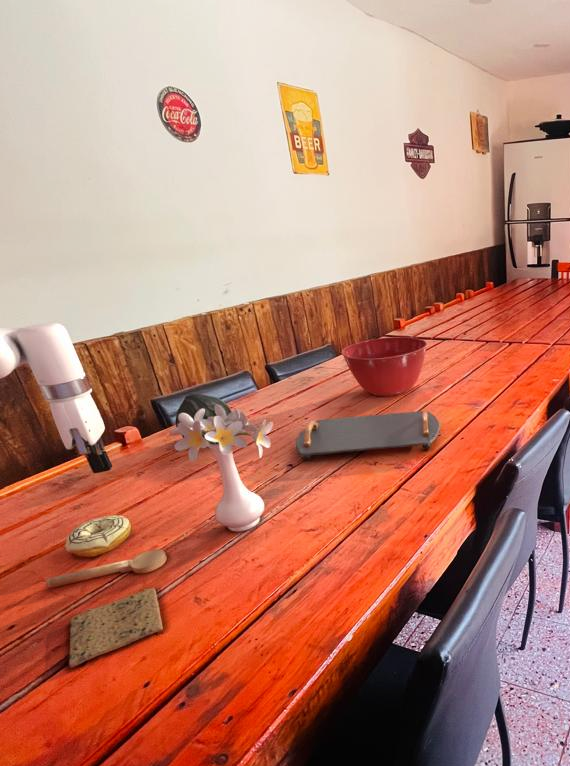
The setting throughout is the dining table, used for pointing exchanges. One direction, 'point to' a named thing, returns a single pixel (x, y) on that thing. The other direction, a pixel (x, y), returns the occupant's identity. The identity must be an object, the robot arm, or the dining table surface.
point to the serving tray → (367, 433)
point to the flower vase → (226, 460)
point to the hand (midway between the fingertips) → (103, 470)
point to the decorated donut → (98, 536)
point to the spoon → (113, 568)
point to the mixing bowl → (386, 364)
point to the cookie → (113, 625)
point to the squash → (200, 407)
